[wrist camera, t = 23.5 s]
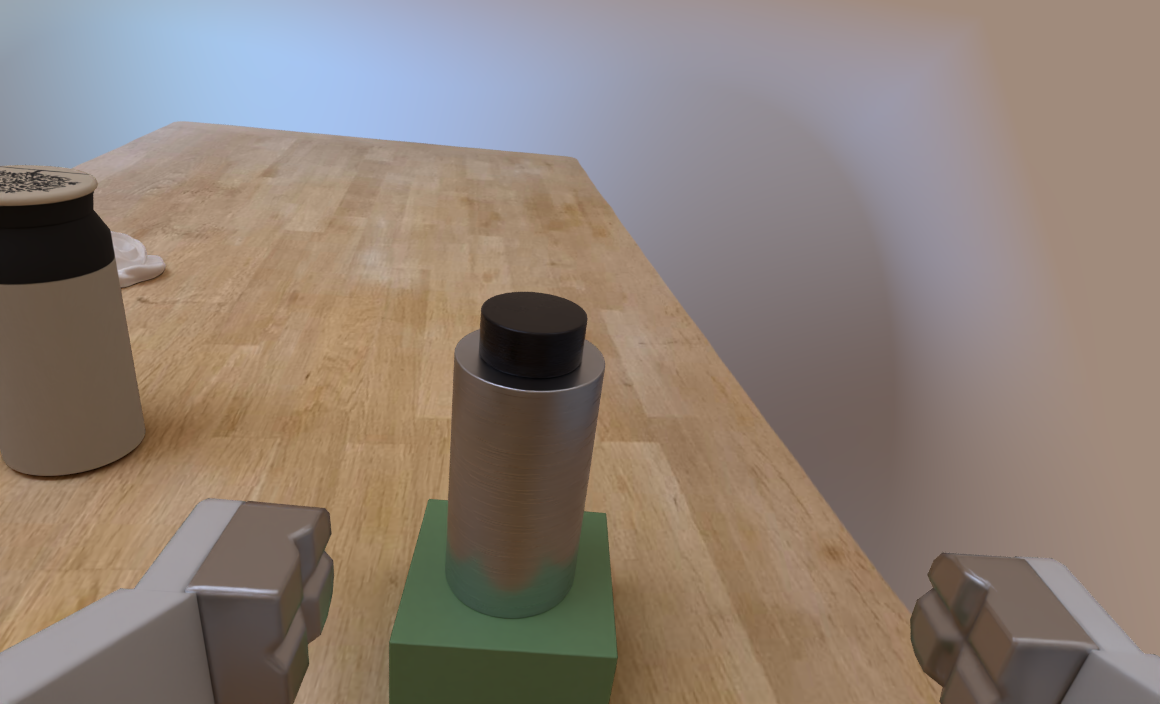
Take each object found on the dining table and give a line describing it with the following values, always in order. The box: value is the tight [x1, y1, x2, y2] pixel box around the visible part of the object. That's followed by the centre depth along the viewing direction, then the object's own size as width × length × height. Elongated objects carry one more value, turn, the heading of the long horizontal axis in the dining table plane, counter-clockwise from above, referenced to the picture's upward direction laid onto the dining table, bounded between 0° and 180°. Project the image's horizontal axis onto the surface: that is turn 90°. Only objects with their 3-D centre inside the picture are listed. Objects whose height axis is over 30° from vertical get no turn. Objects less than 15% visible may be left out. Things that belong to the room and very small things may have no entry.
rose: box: [111, 231, 166, 287], centre depth 73 cm, size 10×4×10 cm
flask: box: [445, 292, 605, 618], centre depth 33 cm, size 6×6×14 cm
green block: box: [389, 499, 618, 704], centre depth 37 cm, size 10×10×5 cm
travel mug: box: [0, 165, 145, 476], centre depth 45 cm, size 8×8×18 cm
